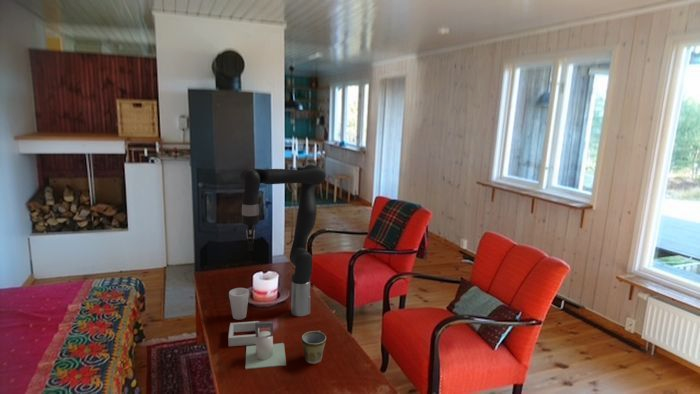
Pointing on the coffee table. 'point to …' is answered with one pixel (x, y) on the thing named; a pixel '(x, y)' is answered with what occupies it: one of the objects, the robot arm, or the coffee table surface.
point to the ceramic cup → (313, 346)
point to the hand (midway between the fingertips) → (250, 247)
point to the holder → (242, 339)
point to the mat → (275, 360)
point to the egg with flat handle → (264, 341)
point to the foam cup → (239, 302)
